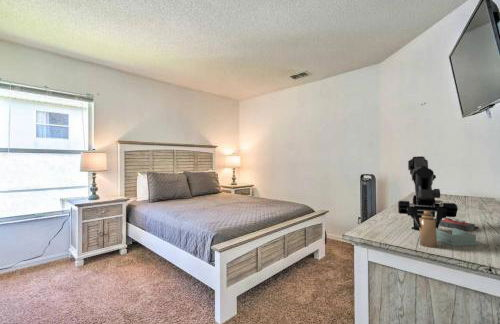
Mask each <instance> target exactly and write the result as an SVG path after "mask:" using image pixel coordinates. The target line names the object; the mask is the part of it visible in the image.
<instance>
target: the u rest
mask: <svg viewBox="0 0 500 324" xmlns="http://www.w3.org/2000/svg"><path fill="white" fill-rule="evenodd" d="M436 232H437V241H439V242H442V243H444V244H445V245H446V244H447V245H449V246H451V247H458V246H460V247H461V246H464V247H465V246H480V243H479V241H478V240H477V234H475V233H471V232H469V231H463V230H459V229H455V228H451V233H449V232H445V231H443V230H440V229H437V228H436Z"/></svg>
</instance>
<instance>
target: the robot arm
mask: <svg viewBox="0 0 500 324" xmlns="http://www.w3.org/2000/svg"><path fill="white" fill-rule="evenodd" d="M428 161H429V160H428V159H426V158H425V156H418V155H417V156H412V158H411V159H410V160H408V162H407V168H408V171H409V174H410V175H411V181H413V184H414V191H415V194H414V195H413V198H412V202H411V203H410V201H409V200H399V201H398V202H397V207H398V214H402V215H407V216H409V217H411V218H412V221H413V226H411V229H413V230H417V231H420V230H419V227H420V222H419V218H420V217H422V215H424V210H429V211H431V215H432V216H433V218H435V219H436V229H437V230H439V227H440V222H441V220H443V219H445V218H448V217H450V218H456V217H457V214H458V205H457V204H456V203H455V202H443V203H442V206H440V205H439V206H438V205H435V204H436V199H440V198H441V190H440V188H433V187H432V186H433V181H435V179H437V176H436V175H435V173H434V170H433V169H431V168H429V162H428Z"/></svg>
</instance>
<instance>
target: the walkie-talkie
mask: <svg viewBox="0 0 500 324" xmlns="http://www.w3.org/2000/svg"><path fill="white" fill-rule="evenodd" d="M434 219H436V217H434ZM439 227H442V228H443V227H444V228H448V229H452V228H455V229H459V230H462V231H465V232H472V231H475V230H479V229H480V227H479V226H476V224H475V223H471V222H466V221H465V220H460V219H459V218H456V217H446V218H444V219H442V220H441V222H440V224H439Z"/></svg>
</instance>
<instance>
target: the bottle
mask: <svg viewBox="0 0 500 324" xmlns="http://www.w3.org/2000/svg"><path fill="white" fill-rule="evenodd" d="M434 218H435V217H434ZM434 218H433V216H432V215H431V211H429V210H424V215H422V217H420V218H419V222H420V227H419V230H418V231H419V245H420V246H422V247H425V248H437V247H438V240H437V232H436V229H437V228H436V218H435V219H434Z"/></svg>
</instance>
